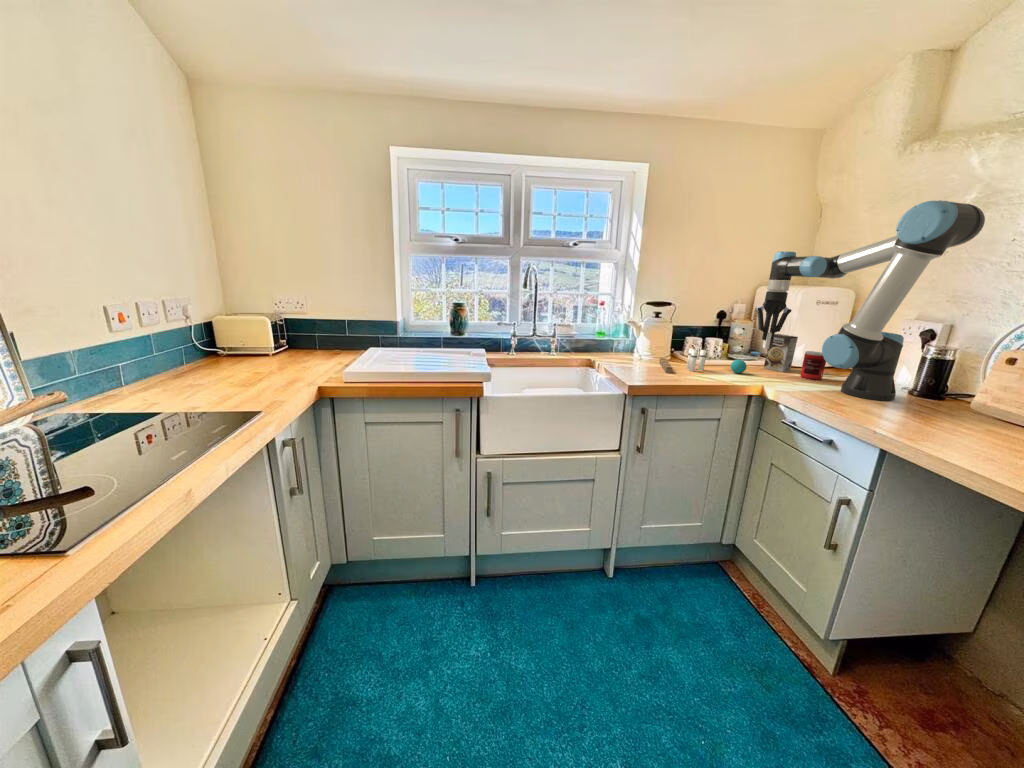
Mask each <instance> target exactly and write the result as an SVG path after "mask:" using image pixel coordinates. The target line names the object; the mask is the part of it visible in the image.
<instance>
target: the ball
mask: <svg viewBox="0 0 1024 768" xmlns="http://www.w3.org/2000/svg"><path fill="white" fill-rule="evenodd" d="M730 369H731V371H732V372H733V373H735V374H742V373H744V372H745V371H746V370H747V364H746V362H745V361H744V360H743V359H735V360H733V361H732V362H731V363H730Z"/></svg>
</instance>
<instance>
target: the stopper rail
mask: <svg viewBox="0 0 1024 768" xmlns="http://www.w3.org/2000/svg"><path fill="white" fill-rule="evenodd" d="M658 364H660V366H661V368H662V369H663V371H664V373H666V374H673V366H672V365H671V363H669V361H668V360H667V358H665V357H660V358H659V363H658Z"/></svg>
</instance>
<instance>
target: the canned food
mask: <svg viewBox="0 0 1024 768" xmlns="http://www.w3.org/2000/svg"><path fill="white" fill-rule="evenodd" d="M826 363H827V362H826V361H825V359H824V356H823V354H822V351H821V352H820V351H813V350H812V351H811V350H810V351H809V350H807V351H805V353H804V356H803V361H802V365H801V370H800V375H799V376H800V378H801V377H802V378H801V379H804V378H805V379H804V380H808V379H809V380H808V381H821V380H822V379H823V376H824V371H825V367H826Z"/></svg>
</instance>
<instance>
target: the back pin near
mask: <svg viewBox="0 0 1024 768" xmlns="http://www.w3.org/2000/svg"><path fill="white" fill-rule="evenodd" d="M698 352H699V351H698V350H696V349H695V350H692V352H691V359H690V366H689V369H688V371H689V372H692V371H694V372H695V371H696V364H697V358H698Z"/></svg>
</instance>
